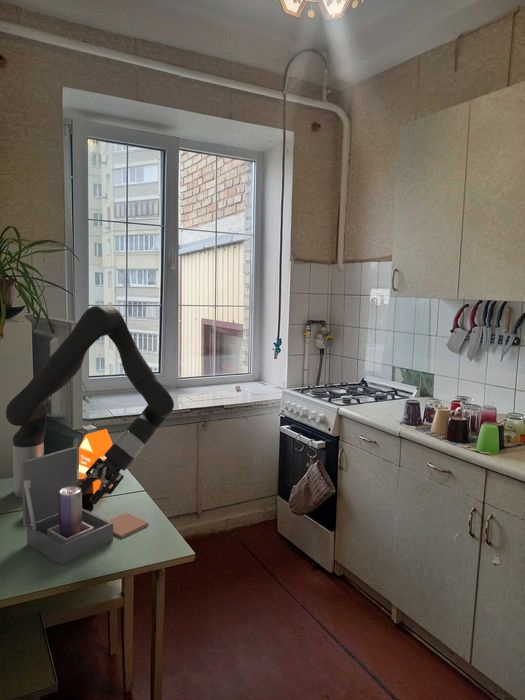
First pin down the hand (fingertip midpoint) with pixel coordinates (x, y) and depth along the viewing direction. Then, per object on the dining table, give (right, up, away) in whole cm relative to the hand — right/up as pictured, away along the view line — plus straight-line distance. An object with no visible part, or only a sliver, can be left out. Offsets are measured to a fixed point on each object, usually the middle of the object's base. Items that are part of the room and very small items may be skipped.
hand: (86, 497), depth 140 cm
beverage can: (-4, -12, -1) cm, 13 cm away
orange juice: (-9, -7, +35) cm, 37 cm away
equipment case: (-4, -12, -1) cm, 13 cm away
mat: (+8, -11, +9) cm, 16 cm away
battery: (-8, -9, +19) cm, 22 cm away
